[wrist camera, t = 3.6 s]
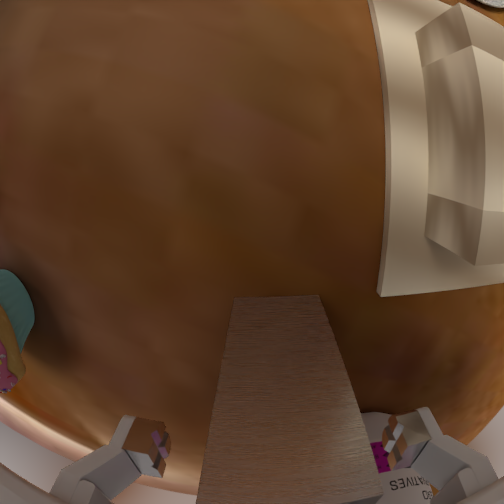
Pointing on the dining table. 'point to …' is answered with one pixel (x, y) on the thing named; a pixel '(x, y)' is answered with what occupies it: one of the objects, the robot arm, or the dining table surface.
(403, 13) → the well
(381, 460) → the supplement can
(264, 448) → the grey long block
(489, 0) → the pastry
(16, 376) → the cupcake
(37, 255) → the dining table surface
